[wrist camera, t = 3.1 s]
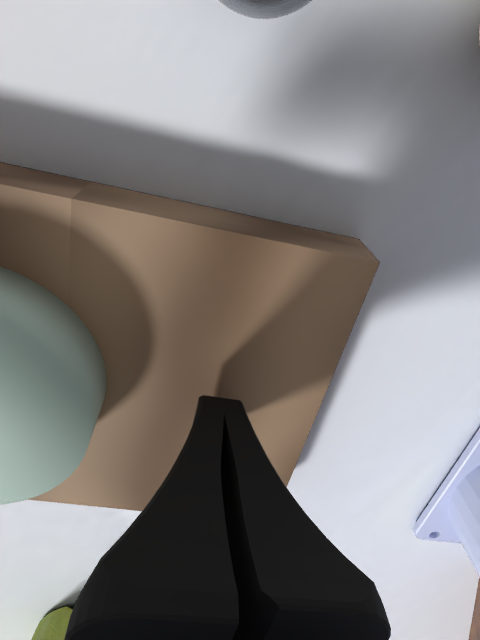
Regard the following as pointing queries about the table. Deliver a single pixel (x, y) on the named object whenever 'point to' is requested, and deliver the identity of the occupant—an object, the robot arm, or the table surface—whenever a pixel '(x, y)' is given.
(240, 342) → the brown flat rectangular block
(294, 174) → the table surface
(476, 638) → the tissue box cover
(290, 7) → the steel ball
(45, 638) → the plant pot
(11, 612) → the table surface
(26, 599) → the table surface
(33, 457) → the green smooth pebble
